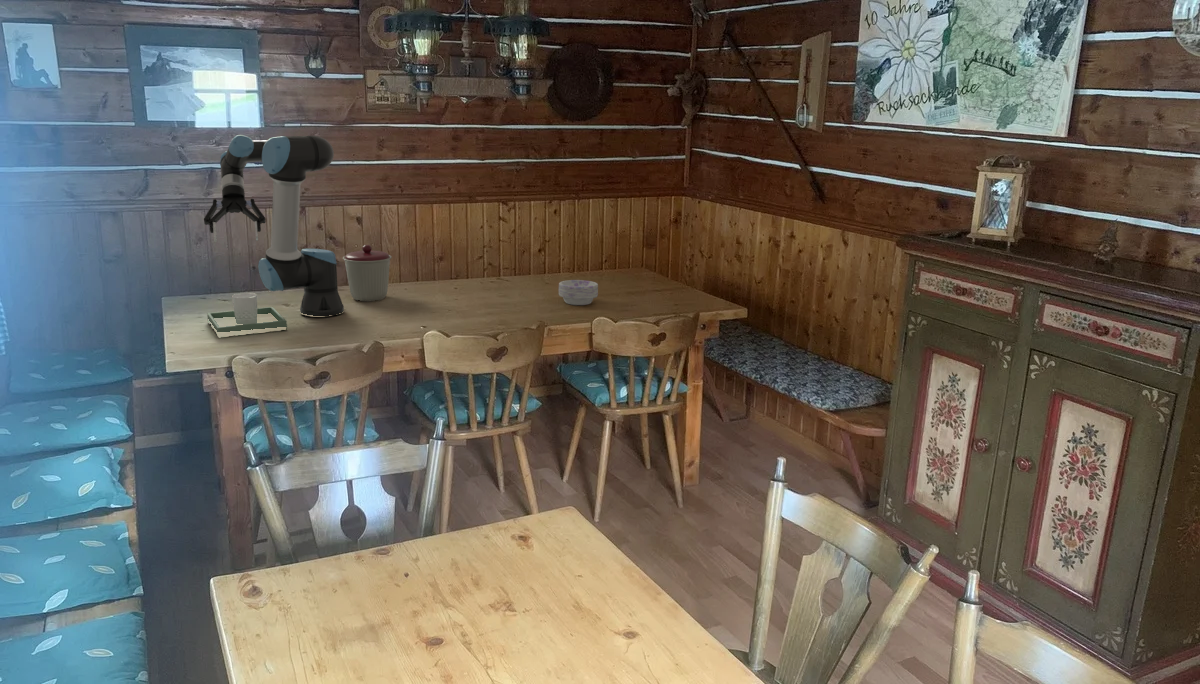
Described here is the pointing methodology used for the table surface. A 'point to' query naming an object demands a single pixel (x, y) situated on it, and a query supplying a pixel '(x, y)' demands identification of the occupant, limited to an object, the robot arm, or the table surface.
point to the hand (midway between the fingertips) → (236, 239)
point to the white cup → (245, 308)
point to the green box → (266, 310)
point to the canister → (368, 273)
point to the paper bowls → (578, 291)
